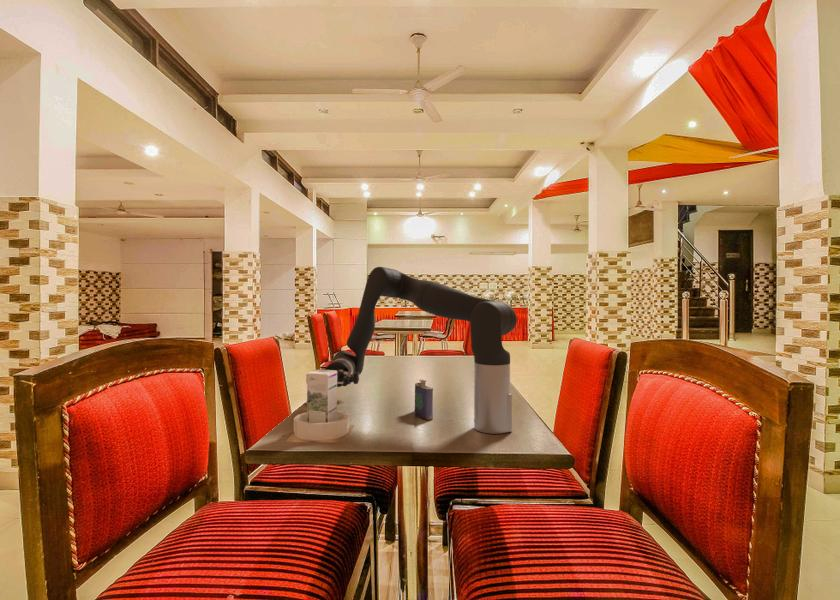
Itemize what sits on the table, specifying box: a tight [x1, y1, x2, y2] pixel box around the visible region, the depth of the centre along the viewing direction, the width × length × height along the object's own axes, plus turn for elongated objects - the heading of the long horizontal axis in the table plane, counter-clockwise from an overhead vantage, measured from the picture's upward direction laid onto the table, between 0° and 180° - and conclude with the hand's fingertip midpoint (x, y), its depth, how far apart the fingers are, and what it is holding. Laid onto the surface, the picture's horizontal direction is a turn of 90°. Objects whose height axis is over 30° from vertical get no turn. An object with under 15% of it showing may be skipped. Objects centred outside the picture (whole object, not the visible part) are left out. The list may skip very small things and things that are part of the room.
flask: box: [413, 378, 434, 421], centre depth 128 cm, size 9×3×11 cm, turn 25°
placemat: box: [284, 424, 355, 443], centre depth 110 cm, size 14×14×1 cm
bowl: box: [293, 410, 350, 441], centre depth 110 cm, size 13×13×4 cm
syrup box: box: [306, 369, 338, 423], centre depth 110 cm, size 6×6×14 cm
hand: (328, 382), depth 119 cm, fingers open, 8 cm apart
